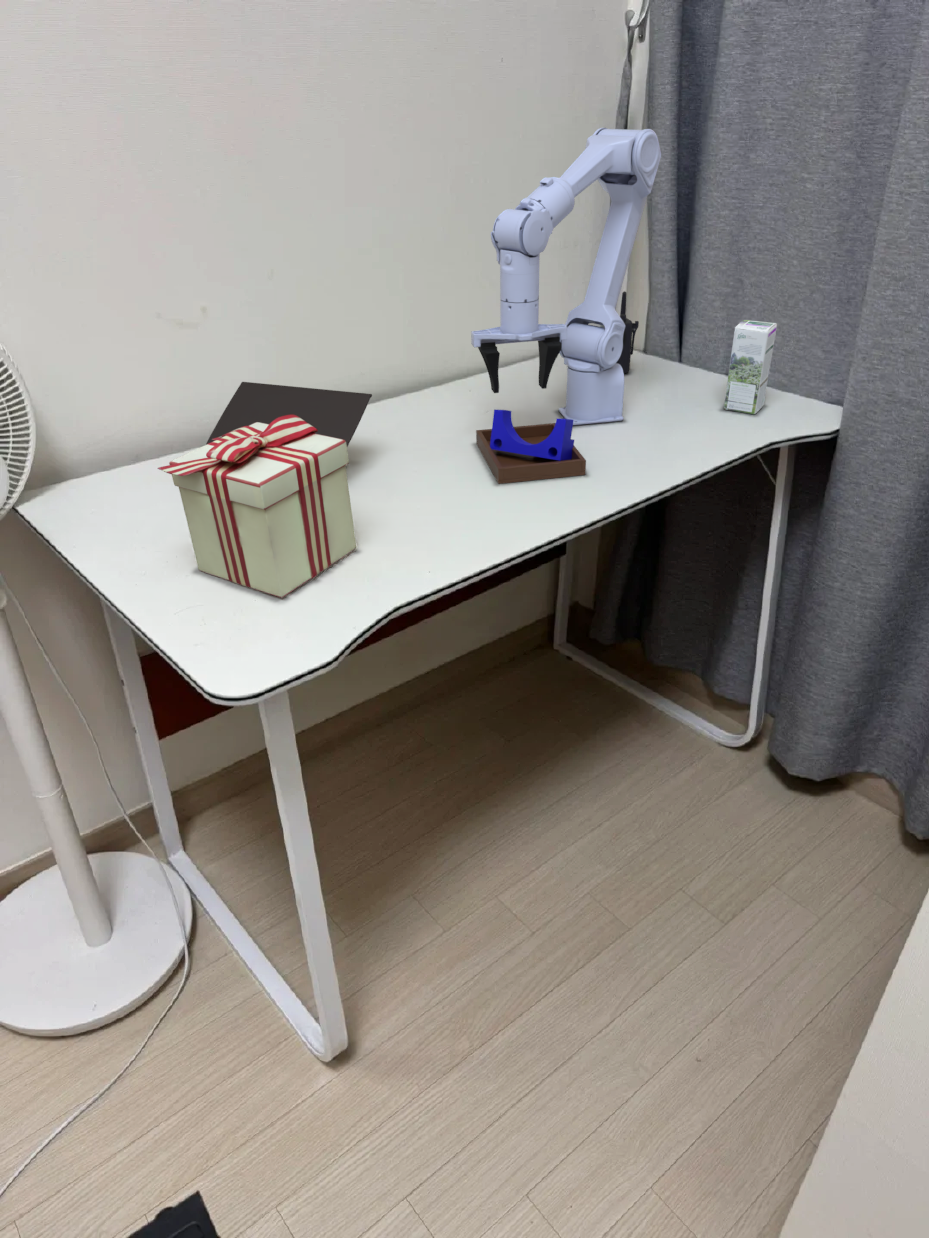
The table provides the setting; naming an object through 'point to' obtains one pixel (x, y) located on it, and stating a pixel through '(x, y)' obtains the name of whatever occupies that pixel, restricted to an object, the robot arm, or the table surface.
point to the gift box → (267, 504)
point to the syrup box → (749, 366)
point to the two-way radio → (627, 337)
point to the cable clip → (550, 448)
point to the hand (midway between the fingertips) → (518, 389)
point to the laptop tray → (294, 409)
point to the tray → (528, 458)
